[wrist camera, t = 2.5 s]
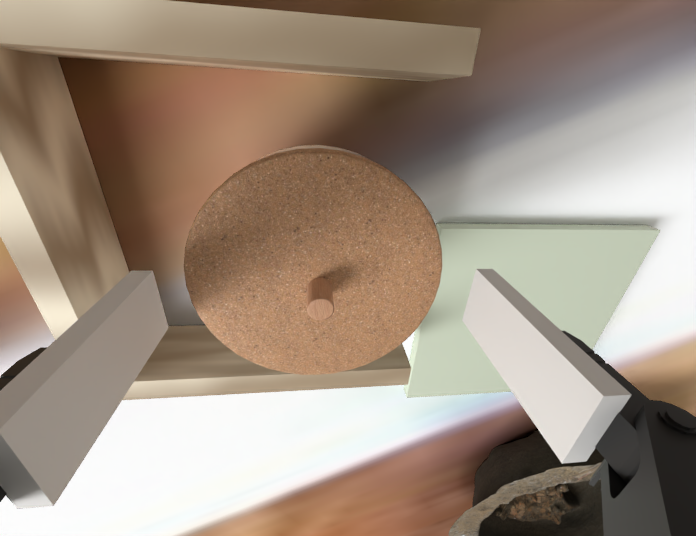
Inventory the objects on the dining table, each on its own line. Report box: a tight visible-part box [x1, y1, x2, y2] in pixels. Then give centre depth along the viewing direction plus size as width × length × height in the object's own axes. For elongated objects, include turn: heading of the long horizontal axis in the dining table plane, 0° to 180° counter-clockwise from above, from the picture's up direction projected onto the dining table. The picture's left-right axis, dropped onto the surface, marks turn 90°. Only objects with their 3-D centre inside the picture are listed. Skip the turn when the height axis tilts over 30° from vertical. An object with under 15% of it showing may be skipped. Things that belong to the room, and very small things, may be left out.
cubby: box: [0, 0, 481, 400], centre depth 17 cm, size 19×20×5 cm
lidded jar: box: [184, 145, 442, 375], centre depth 16 cm, size 11×11×9 cm
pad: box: [404, 223, 660, 398], centre depth 25 cm, size 16×16×1 cm
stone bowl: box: [448, 430, 605, 536], centre depth 34 cm, size 25×25×9 cm
